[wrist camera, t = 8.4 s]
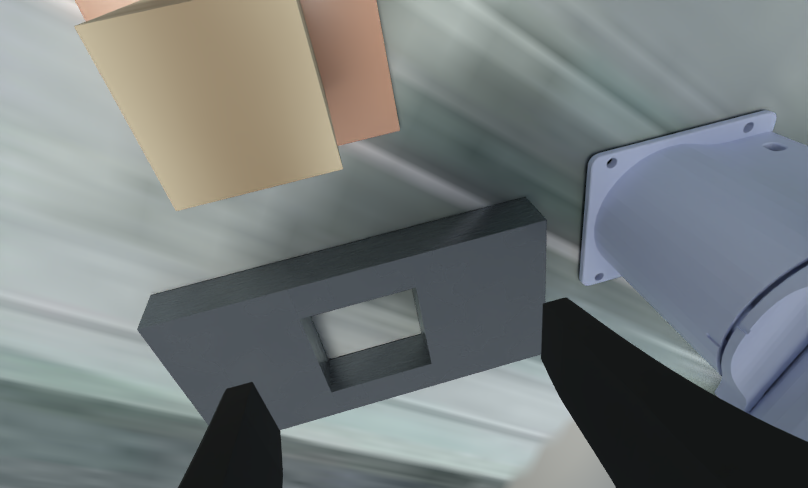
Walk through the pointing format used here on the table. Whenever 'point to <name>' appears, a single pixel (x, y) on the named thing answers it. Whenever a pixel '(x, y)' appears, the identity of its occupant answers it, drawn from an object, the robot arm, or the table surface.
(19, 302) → the table surface
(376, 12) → the tile
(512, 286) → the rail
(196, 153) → the peg
